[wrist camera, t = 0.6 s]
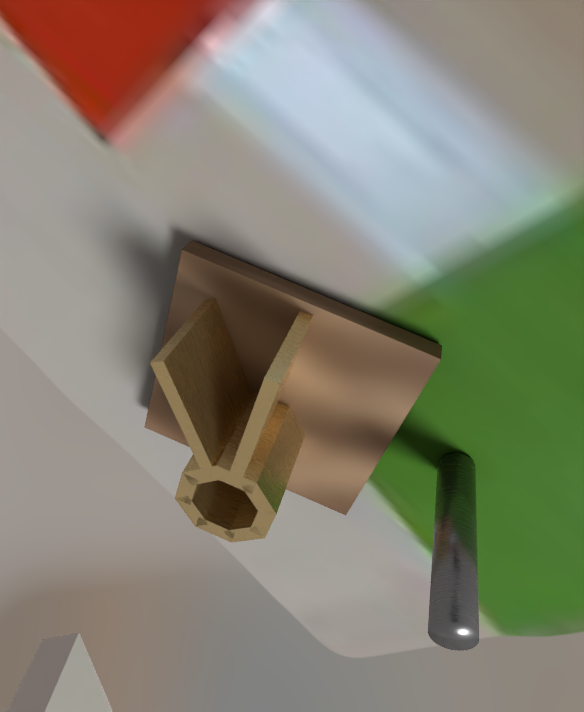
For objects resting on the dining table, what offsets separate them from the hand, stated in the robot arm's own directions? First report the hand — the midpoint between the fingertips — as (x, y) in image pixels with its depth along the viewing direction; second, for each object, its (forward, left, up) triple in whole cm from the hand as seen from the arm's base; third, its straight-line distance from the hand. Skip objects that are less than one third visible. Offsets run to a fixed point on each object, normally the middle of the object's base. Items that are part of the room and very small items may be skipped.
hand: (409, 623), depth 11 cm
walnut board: (+13, -5, -22) cm, 26 cm away
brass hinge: (+13, -7, -20) cm, 25 cm away
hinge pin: (+14, +8, -22) cm, 27 cm away
